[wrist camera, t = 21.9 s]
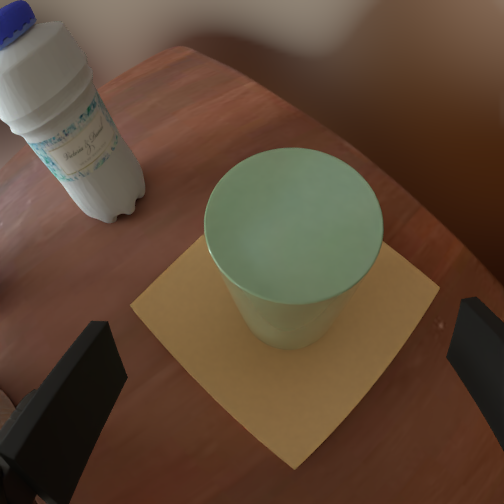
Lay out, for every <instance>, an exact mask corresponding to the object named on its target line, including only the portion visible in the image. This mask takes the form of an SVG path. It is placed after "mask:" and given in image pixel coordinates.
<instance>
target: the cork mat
mask: <svg viewBox="0 0 504 504" xmlns="http://www.w3.org/2000/svg"><path fill="white" fill-rule="evenodd" d="M439 289H440V287H439V286H438V285H436V284H435V283H434V282H433V281H432V280H431V279H429V278H428V277H427V276H426V275H425V274H423V273H422V272H421V271H420V270H419V269H417V268H416V267H415V266H414V265H412V264H411V263H410V262H409V261H407V260H406V259H405V258H404V257H402V256H401V255H400V254H399V253H397V252H396V251H395V250H394V249H392V248H391V247H390V246H389V245H387V244H386V243H385V242H383V241H382V245H381V249H380V252H379V254H378V256H377V259H376V261H375V263H374V264H373V266H372V267H371V269H370V271H369V272H368V274H367V275H366V277H365V278H364V280H363V281H362V283H361V284H360V286H359V287H358V289H357V290H356V292H355V293H354V295H353V296H352V298H351V299H350V300H349V302H348V303H347V305H346V306H345V308H344V309H343V311H342V312H341V313H340V315H339V316H338V318H337V319H336V320H335V322H334V323H333V325H332V326H331V327H330V329H329V330H328V331H327V333H326V334H325V335H324V336H323V337H322V338H321V339H319V340H318V341H317V342H315V343H313V344H312V345H309V346H307V347H304V348H301V349H295V350H283V349H277V348H274V347H271V346H269V345H266V344H265V343H263V342H261V341H260V340H259V339H257V338H256V337H255V336H254V335H253V334H252V333H251V331H250V330H249V329H248V327H247V325H246V323H245V322H244V320H243V318H242V316H241V314H240V312H239V310H238V308H237V306H236V304H235V302H234V300H233V298H232V296H231V294H230V292H229V290H228V288H227V286H226V284H225V282H224V280H223V278H222V276H221V274H220V272H219V270H218V268H217V266H216V264H215V262H214V260H213V258H212V256H211V254H210V252H209V249H208V246H207V243H206V239H205V233H204V234H203V235H202V236H201V237H200V238H199V239H198V240H197V241H196V242H195V243H194V244H193V245H191V246H190V247H189V248H188V249H187V250H186V251H185V252H184V253H183V254H182V255H181V256H180V257H179V258H178V259H177V260H176V261H175V262H174V263H173V264H172V265H170V266H169V267H168V268H167V269H166V270H165V271H164V272H163V273H162V274H161V275H160V276H159V277H158V278H157V279H156V280H155V281H154V282H153V283H152V284H151V285H150V286H149V287H148V288H147V289H146V290H145V291H144V292H143V293H142V294H141V295H140V296H139V297H138V298H137V299H136V300H135V301H134V302H133V303H132V304H131V305H130V307H131V308H132V309H133V310H134V312H135V313H136V314H137V315H138V316H139V318H140V319H141V320H142V321H143V322H144V324H145V325H146V326H147V327H148V328H149V329H150V331H151V332H152V333H153V334H154V335H155V336H156V338H157V339H158V340H159V341H160V342H161V343H162V344H163V346H164V347H165V348H166V349H167V350H168V351H169V352H170V353H171V354H172V355H173V357H174V358H175V359H176V360H177V361H178V362H179V363H180V364H181V365H182V366H183V367H184V368H185V369H186V371H187V372H188V373H189V374H190V375H191V376H192V377H193V378H194V379H195V380H196V381H197V382H198V383H199V384H200V385H201V386H202V387H203V388H204V389H205V390H206V391H207V392H208V393H209V394H210V395H211V396H212V397H213V398H214V399H215V400H216V401H217V402H218V403H219V404H220V405H221V406H222V407H223V408H224V409H225V410H226V411H227V412H228V413H230V414H231V415H232V416H233V417H234V418H235V419H236V420H237V421H238V422H239V423H240V424H241V425H242V426H244V427H245V428H246V429H247V430H248V431H249V432H250V433H251V434H252V435H254V436H255V437H256V438H257V439H258V440H259V441H260V442H262V443H263V444H264V445H265V446H266V447H267V448H269V449H270V450H271V451H272V452H273V453H274V454H276V455H277V456H278V457H279V458H281V459H282V460H283V461H284V462H285V463H287V464H288V465H289V466H290V467H292V468H293V469H294V470H295V469H296V468H297V467H298V466H299V465H300V464H301V463H303V462H304V461H305V460H306V459H307V458H308V457H309V456H310V455H311V454H312V453H313V452H314V451H315V450H316V449H317V448H318V447H319V446H320V445H321V444H322V443H323V442H324V441H325V440H326V439H327V437H328V436H329V435H330V434H331V433H332V432H333V431H334V430H335V429H336V428H337V427H338V426H339V425H340V424H341V422H342V421H343V420H344V419H345V418H346V417H347V416H348V415H349V413H350V412H351V411H352V410H353V409H354V408H355V407H356V405H357V404H358V403H359V402H360V401H361V399H362V398H363V397H364V396H365V395H366V393H367V392H368V391H369V390H370V389H371V387H372V386H373V385H374V384H375V382H376V381H377V380H378V378H379V377H380V376H381V375H382V373H383V372H384V371H385V369H386V368H387V367H388V365H389V364H390V363H391V361H392V360H393V359H394V357H395V356H396V355H397V353H398V352H399V351H400V349H401V348H402V346H403V345H404V343H405V342H406V341H407V339H408V338H409V336H410V335H411V333H412V332H413V330H414V329H415V327H416V326H417V324H418V323H419V321H420V320H421V318H422V317H423V315H424V314H425V312H426V310H427V309H428V307H429V306H430V304H431V302H432V301H433V299H434V298H435V296H436V294H437V293H438V291H439Z"/></svg>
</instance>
